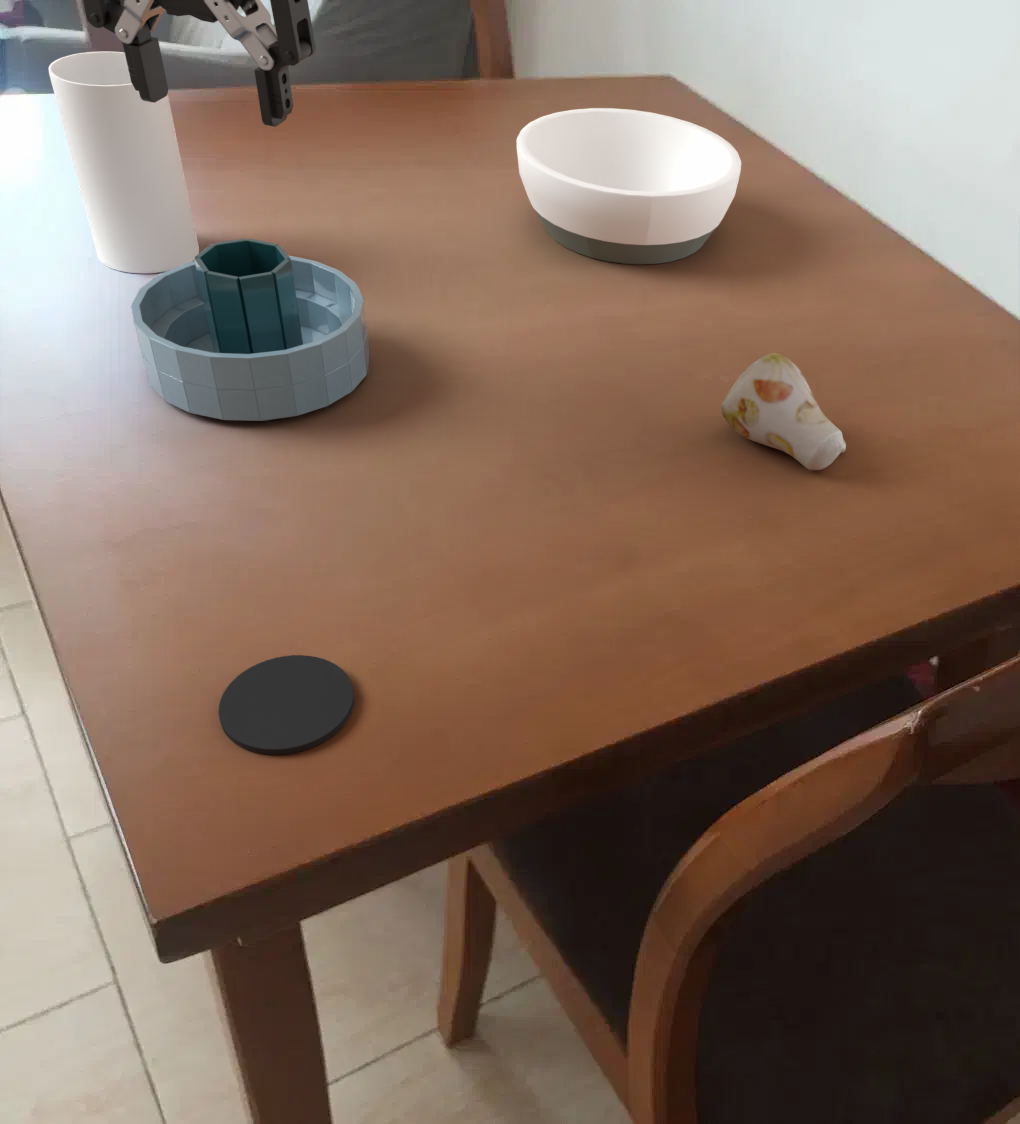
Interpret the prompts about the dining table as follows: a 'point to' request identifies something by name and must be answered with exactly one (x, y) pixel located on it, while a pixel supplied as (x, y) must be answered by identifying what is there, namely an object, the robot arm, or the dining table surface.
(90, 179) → the cup
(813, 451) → the white pear shape
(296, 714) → the coaster
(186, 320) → the glazed bowl
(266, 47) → the robot arm
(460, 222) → the dining table surface
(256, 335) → the teal cup
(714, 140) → the bowl
